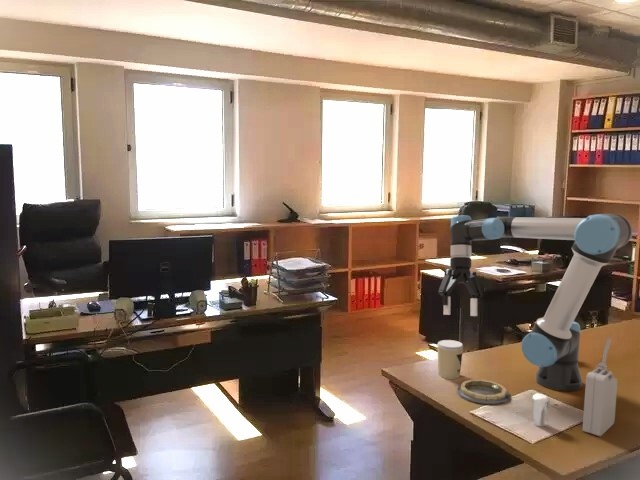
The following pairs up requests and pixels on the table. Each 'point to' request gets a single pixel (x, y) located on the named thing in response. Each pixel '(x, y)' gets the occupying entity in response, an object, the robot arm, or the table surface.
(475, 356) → the table surface
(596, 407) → the fuel canister
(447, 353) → the coffee cup
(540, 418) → the milkshake
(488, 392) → the carrier plate
